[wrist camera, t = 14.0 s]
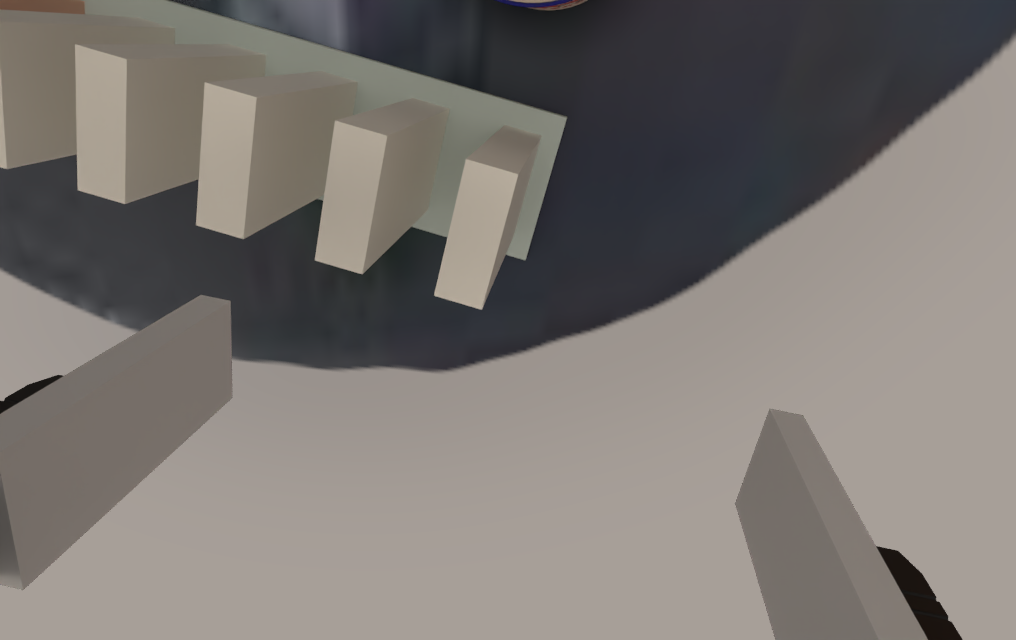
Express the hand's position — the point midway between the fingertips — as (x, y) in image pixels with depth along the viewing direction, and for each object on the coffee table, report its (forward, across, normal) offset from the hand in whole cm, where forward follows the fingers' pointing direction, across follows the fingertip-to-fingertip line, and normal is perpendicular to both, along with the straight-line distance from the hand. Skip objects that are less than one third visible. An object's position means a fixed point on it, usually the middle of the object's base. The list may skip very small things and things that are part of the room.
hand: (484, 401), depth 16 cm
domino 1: (+21, -22, +3) cm, 31 cm away
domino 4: (+21, -7, +2) cm, 22 cm away
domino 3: (+21, -12, +2) cm, 24 cm away
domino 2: (+21, -17, +3) cm, 27 cm away
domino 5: (+21, -2, +1) cm, 21 cm away
